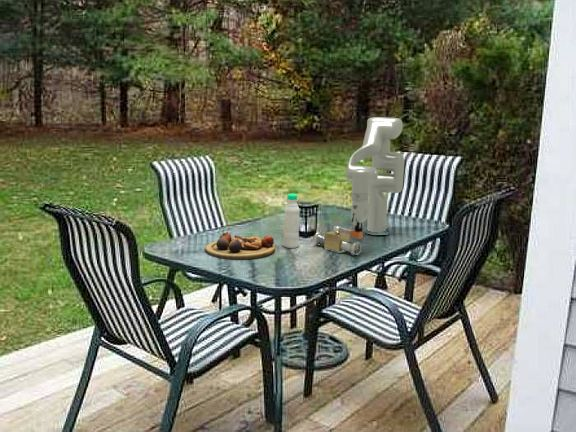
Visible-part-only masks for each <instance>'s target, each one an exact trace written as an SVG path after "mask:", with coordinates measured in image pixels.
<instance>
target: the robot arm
mask: <svg viewBox="0 0 576 432" xmlns="http://www.w3.org/2000/svg"><path fill="white" fill-rule="evenodd" d="M366 121H367V122H366V130H365V132H364V133H365V134H364V138H363V141H362V146H361V147H359V148H358V149H357V150H355V152H354V153H352V154H351V155H350V157H349V160H348V162H347V168H346V173H345V177H346V179H347V180H348V181H349V182H352V183H351V202H352V203H351V209H350V221H351V223H352V226H353V227H354V228H353V229H354V230H358V231H362V232H363V229H364V222H366V221H367V225H366V229H367V230H368V231H371V232H383V231H386V229H387V230H388V229H390V228H392V227H391V224H387V218H388V216H387V215H388V198H387V196H386V195H385V193H392V194H399V193H401V192H402V190H403V187H404V186H403V185H404V175H405V174H404V173H405V157H404V155H403V154H402V153H401V152H395V151H391V140H395V139H397V138H398V137H399V136H400V135H401V134H402V132H403V126H404V124H403V121H402V119H401V118H399V117H398V118H397V117H384V116H383V117H382V116H371V117H370V118H368V119H367V120H366ZM371 157H372V158H371ZM368 158H371V165H372V166H365V165H357V164H358V163H359V162H360V161H362V160H366V159H368ZM378 171H385V172H378ZM388 172H392V173H388Z"/></svg>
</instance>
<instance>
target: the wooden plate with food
mask: <svg viewBox="0 0 576 432" xmlns="http://www.w3.org/2000/svg"><path fill="white" fill-rule="evenodd" d="M274 243H275V241H274V237H273V236H271V235H266V236H264V237H263V238H262V239H261V238H260V237H259V236H250V237H242V236H240V235H234V236H233V237H232V235H231V234H230V233H229V232H227V231H226V232H222V233H221V236H219V239H217V240H215V241H212V242H210V243H208V244H207V245H205V248H204V250H205V253H206V252H207V253H208V254H207V253H206V254H207V255H209V256H211V255H212V256H211V257H214V256H215V257H214V258H218V259H224V260H225V259H226V260H251V259H259V258H264V257H267V256H270V255H271V254H273V253H274V252H276V245H275V244H274Z"/></svg>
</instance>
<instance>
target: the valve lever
mask: <svg viewBox="0 0 576 432" xmlns="http://www.w3.org/2000/svg"><path fill="white" fill-rule="evenodd" d="M333 231H334V232H335V233H343V234H347V235H350V238H354V239H357V240H358V239H359V240H360V239H363V235H364V231H363V230H362V231H358V230H355V229H349V228H345V227H342V226H341V225H333Z"/></svg>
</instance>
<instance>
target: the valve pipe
mask: <svg viewBox="0 0 576 432" xmlns="http://www.w3.org/2000/svg"><path fill="white" fill-rule="evenodd" d="M350 238H351V237H350V235H347V234H343V233H335V232H334V230H332V231H327V232H324V233H323V232H321V231H317V232H316V233H315V234H314V235H313V238H312V241H313V244H314V245H315V244H316V246H318V244H321V245H323V247H324V248H327V249H332V250H336V251H342V250H344V251H347V252H349V253H350V255H352V254H356V253H359V252H360V253H361V252H362V249H363V248H362V243H361V242H360V241H354V242H351V241H350V240H351V239H350ZM324 248H323V249H324Z"/></svg>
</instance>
